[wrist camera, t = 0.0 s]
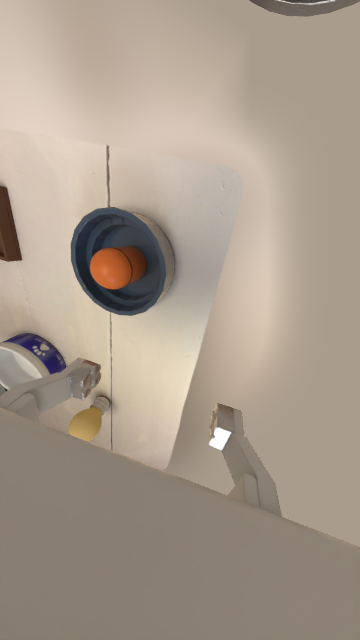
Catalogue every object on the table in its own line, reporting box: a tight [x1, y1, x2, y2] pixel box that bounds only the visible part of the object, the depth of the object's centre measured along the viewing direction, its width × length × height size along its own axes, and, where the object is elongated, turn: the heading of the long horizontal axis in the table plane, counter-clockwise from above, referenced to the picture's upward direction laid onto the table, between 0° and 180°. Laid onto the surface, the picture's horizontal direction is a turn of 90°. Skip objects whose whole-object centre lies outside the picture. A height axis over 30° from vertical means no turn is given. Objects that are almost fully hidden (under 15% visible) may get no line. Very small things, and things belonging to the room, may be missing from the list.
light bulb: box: [68, 397, 109, 442], centre depth 41 cm, size 6×6×10 cm
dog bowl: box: [0, 334, 66, 390], centre depth 42 cm, size 15×15×6 cm
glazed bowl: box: [71, 207, 175, 316], centre depth 26 cm, size 14×14×5 cm
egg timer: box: [90, 246, 147, 289], centre depth 24 cm, size 5×5×8 cm
